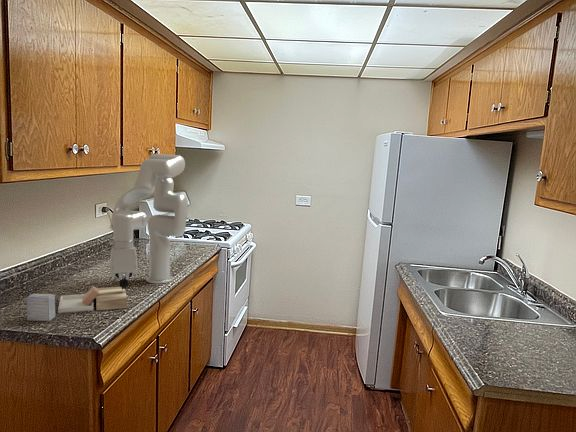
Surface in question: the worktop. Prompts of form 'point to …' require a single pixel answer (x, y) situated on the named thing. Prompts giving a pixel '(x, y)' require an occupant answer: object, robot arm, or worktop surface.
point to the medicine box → (40, 307)
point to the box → (74, 304)
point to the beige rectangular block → (111, 298)
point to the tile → (90, 295)
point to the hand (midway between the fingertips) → (123, 288)
